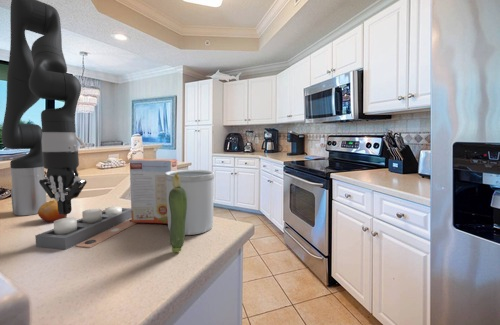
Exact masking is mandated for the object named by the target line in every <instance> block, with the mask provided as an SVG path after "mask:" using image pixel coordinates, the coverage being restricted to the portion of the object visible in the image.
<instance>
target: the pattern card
mask: <svg viewBox="0 0 500 325" xmlns="http://www.w3.org/2000/svg"><path fill="white" fill-rule="evenodd" d="M138 223H139V222H132V218H131V219H128V220H126V221H124V222H122V223H120V224H118V225H116V226H114V227H112V228H110V229H108V230H106V231H103V232H101V233H99V234H97V235H95V236H93V237H91V238H89V239H87V240H85V241H83V242H81V243H78V244H76V245H74V247H79V248H86V249H89V248H93V247H94V246H96V245H98V244H100V243H102V242H104V241H106V240H108V239H110V238H111V237H113V236H115V235H118V234H119V233H121V232H123V231H125V230H127V229H128V228H131V227H132V226H134V225H136V224H138Z"/></svg>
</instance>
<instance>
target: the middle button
mask: <svg viewBox="0 0 500 325" xmlns="http://www.w3.org/2000/svg"><path fill="white" fill-rule="evenodd" d="M102 211H103V209H101V208H90V209H86V210H83V211H82V212H81V213H82V218H83V223H88V224H89V223H96V222H99V221H101V220H102Z"/></svg>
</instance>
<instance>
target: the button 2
mask: <svg viewBox="0 0 500 325" xmlns="http://www.w3.org/2000/svg"><path fill="white" fill-rule="evenodd" d="M122 208H123V207H122V206H120V205H119V206H117V205H115V206H107V207H105V208H104V210H105V214H112V215H116V214H118V213H121V212H122Z"/></svg>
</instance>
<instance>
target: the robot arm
mask: <svg viewBox="0 0 500 325" xmlns="http://www.w3.org/2000/svg"><path fill="white" fill-rule="evenodd" d="M26 31H29V32H32V33H35V34H39V35H40V36H39V37H38V38H37V39H35V41H33V42H32V44H31V46H29V43H28V42H27V38H26ZM41 35H42V36H41ZM62 38H63V37H62V27H61V17H60V15H59V12H58V10H57V9H56V8H55V7H54V6H52V5H50V4H48V3H46V2H42V1H39V0H11V2H10V43H9V44H10V46H9V56H8V58H9V60H8V66H7V67H8V68H7V77H6V78H7V79H6V103H5V111H4V117H3V123H2V129H1V141H2V145H3V146H4V148H6V149H8V150H9V149H10V150H29V152H28V153H27V154H25V155H23V156H20V157H17V158H14V159H12V160H10V163H9V164H10V166H9V167H10V176H11V188H10V195H11V196H10V197H11V207H12V209H11V210H12V214H14V215H15V216H30V215H31V216H32V215H36V214H37V215H38V210H39V208H40V207H41V206H42V205H43V204H44V203H46V202H48V201H47V195H48V197H49V198H50V199H53V200H56V201H57V204H58V212H59V214H60V215H66V214H67V215H69V214H71V213H72V200H73V199H75V198H78V197H79V195H80V194H81V192H82V190H83V189H84V187H85V186H86V184H87V182H88V181H87V180H86V179H82V178H80V177H79V172H78V170H77V169H78V167H79V165H80V162H79V160H80V159H79V147H78V146H79V144H78V136H77V132H76V129H77V128H76V111H77V107H78V102H79V100H80V95H81V91H82V86H81V85H82V84H81V82H80V80H79V78H77V77H76V76H75V75H73V74H71V73H67V72H68V67H67V66H68V65H67V63H66V59H65V55H64V52H63V48H62V47H63V45H62V44H63V42H62ZM30 47H31V48H30ZM40 99H42V100H53V101H63V102H64V104H63V106H62V107H56V108H48V109H47V108H46V109H44V110H42V111H41V113H40V122H41V126H40V125H39V124H35V123H20V121H21V119H22V118H23V115H24V114H25V113H26V112H27V111H28V110H29V109H30V108H32V107H33V106H34V105H35V104H37V103H38V101H39V100H40ZM45 170H46V177H45Z"/></svg>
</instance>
